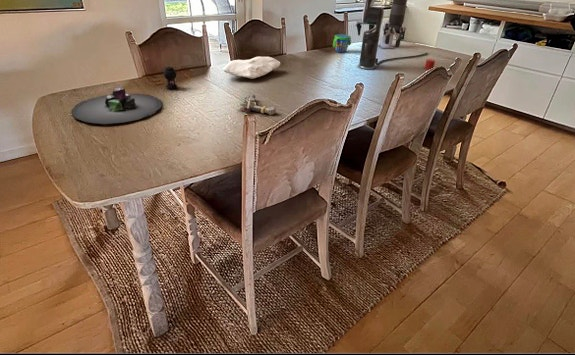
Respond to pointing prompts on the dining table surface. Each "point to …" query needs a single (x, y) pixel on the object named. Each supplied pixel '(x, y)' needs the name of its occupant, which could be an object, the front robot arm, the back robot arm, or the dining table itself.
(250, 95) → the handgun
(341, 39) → the snack cup
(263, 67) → the crumpled cloth
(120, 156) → the dining table surface
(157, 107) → the dark grey serving platter
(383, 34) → the back robot arm
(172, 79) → the gumball machine
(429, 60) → the red cube
